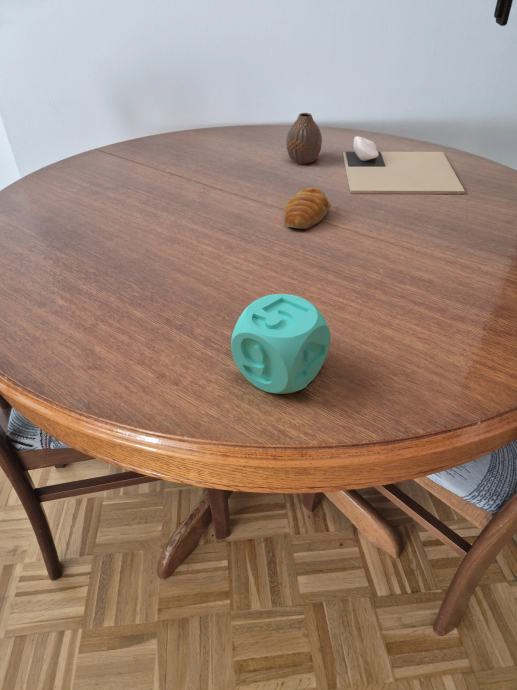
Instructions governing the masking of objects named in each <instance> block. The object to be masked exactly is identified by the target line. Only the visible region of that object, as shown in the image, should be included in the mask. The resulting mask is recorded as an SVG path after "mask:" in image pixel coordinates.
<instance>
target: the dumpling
mask: <svg viewBox="0 0 517 690" xmlns="http://www.w3.org/2000/svg"><path fill="white" fill-rule="evenodd" d="M353 150H354V151H353V152H355V153H356V154H357V156H358V157H359V158H360V160H362V161H367V160H370V159H373V158H376V157H378V152H379V151H378V150H377V146H376V144H375V142H374V141H372V140H370V139H367V138H365V137H361V136H359V135H357V136H354V138H353Z"/></svg>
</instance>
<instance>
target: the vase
mask: <svg viewBox="0 0 517 690" xmlns="http://www.w3.org/2000/svg"><path fill="white" fill-rule="evenodd" d="M322 144H323V137H322V132H321V129H320V128H319V126H318V124H317V122H315V120H314V118H313V115H312V114H311V113H310V112H301V113H299V114H298V116H297V118H296V120H295V121H294V122H293V124H292V125H291V126H290V128H289V130H288V131H287V135H286V145H285V146H286V151H287V154H288V156H289V157H290V159H291V160H292V161H293V162H294V163H296V164H298V165H299V164H301V165H307V164H308V165H309V164H311V163H313V162H314V161H315V160H316V159H317V158H318V157H319V155H320V154H321V150H322Z"/></svg>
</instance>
